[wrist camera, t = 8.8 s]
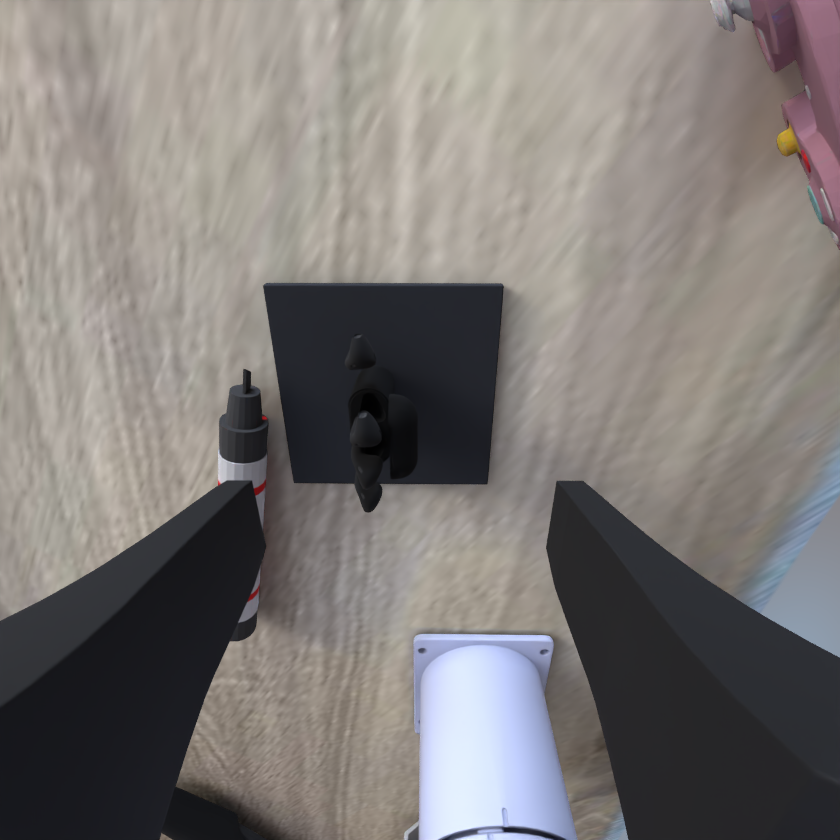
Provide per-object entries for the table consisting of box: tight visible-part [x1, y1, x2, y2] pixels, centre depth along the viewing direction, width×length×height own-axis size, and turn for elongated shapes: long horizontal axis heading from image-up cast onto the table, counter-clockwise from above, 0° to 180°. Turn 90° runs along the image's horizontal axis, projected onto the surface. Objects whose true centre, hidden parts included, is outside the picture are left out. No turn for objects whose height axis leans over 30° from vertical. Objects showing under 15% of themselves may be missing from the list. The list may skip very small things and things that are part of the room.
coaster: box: [263, 283, 504, 484], centre depth 19 cm, size 9×9×1 cm
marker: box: [218, 369, 268, 641], centre depth 21 cm, size 15×2×2 cm, turn 168°
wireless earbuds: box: [345, 333, 418, 513], centre depth 17 cm, size 7×2×5 cm, turn 0°
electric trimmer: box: [161, 787, 267, 840], centre depth 35 cm, size 4×16×3 cm, turn 30°
